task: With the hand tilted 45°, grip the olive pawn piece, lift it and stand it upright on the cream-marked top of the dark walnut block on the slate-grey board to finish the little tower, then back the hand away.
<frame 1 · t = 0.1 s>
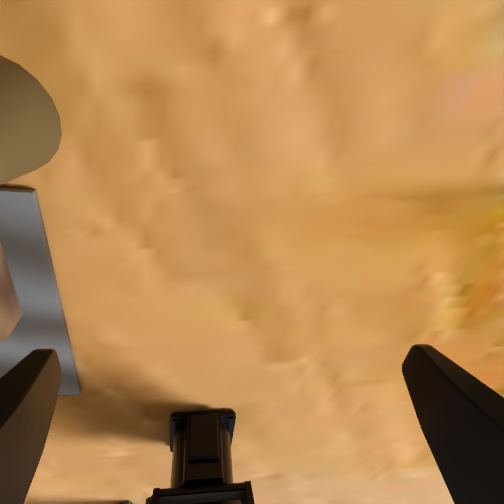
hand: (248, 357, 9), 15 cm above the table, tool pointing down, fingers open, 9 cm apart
olive pawn piece: (1, 116, 18), on the table
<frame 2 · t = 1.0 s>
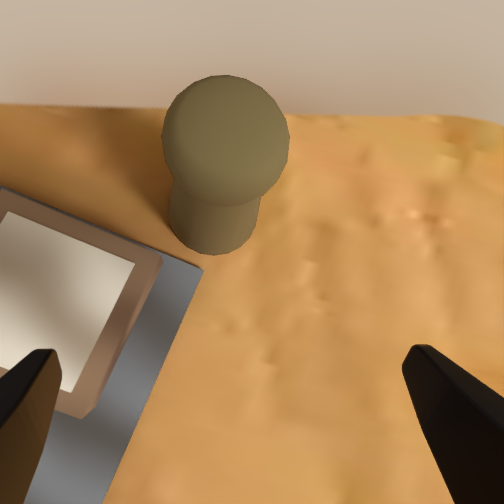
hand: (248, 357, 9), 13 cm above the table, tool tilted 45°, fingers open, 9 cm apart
olive pawn piece: (213, 212, 23), on the table
build base: (61, 302, 20), on the table
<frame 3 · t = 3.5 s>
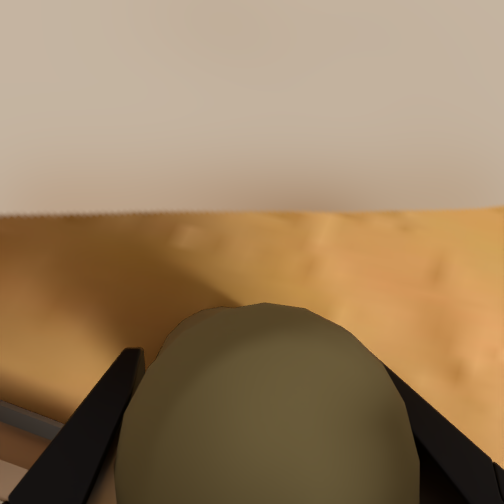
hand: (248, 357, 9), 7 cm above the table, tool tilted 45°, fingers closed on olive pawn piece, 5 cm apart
olive pawn piece: (222, 374, 15), on the table, touching gripper
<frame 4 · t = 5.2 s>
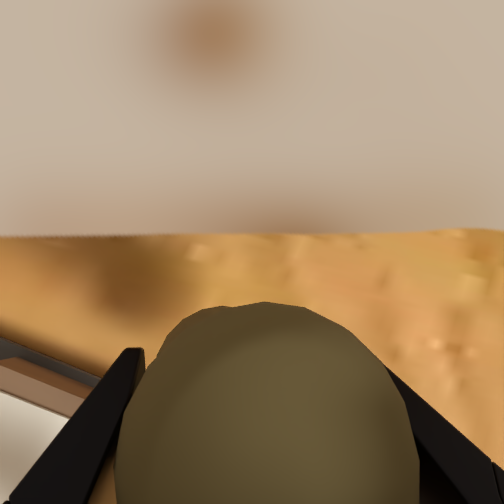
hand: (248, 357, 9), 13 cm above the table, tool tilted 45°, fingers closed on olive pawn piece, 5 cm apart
olive pawn piece: (222, 373, 15), point 6 cm above the table, touching gripper
build base: (55, 467, 18), on the table
when the fingers open (11 cm above the table, at t = 6.8 s): olive pawn piece stays where it is, resting on build base.
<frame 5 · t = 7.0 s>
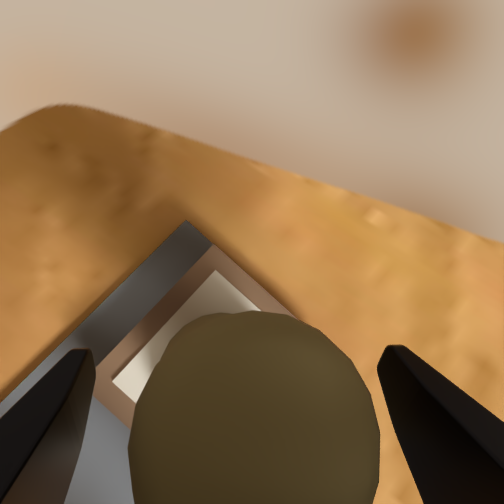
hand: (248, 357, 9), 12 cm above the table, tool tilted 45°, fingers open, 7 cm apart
olive pawn piece: (221, 375, 16), point 3 cm above the table, touching build base
build base: (215, 363, 19), on the table
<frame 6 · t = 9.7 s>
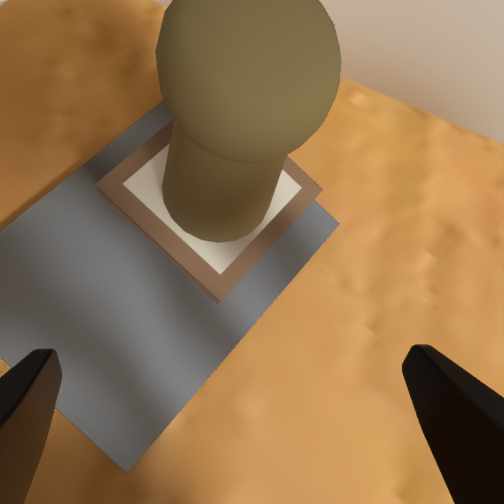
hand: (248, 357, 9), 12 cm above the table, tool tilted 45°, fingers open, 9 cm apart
olive pawn piece: (217, 190, 19), point 3 cm above the table, touching build base
build base: (212, 204, 22), on the table
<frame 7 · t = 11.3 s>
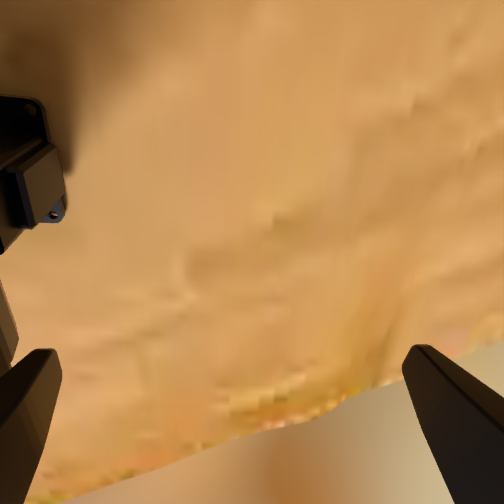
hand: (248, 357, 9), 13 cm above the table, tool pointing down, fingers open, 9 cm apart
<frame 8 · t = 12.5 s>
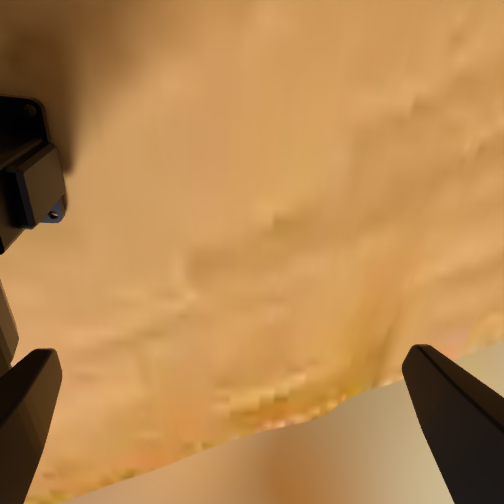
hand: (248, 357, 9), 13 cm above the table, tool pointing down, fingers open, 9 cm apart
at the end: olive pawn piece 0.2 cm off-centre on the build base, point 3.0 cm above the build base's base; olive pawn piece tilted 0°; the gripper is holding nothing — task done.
